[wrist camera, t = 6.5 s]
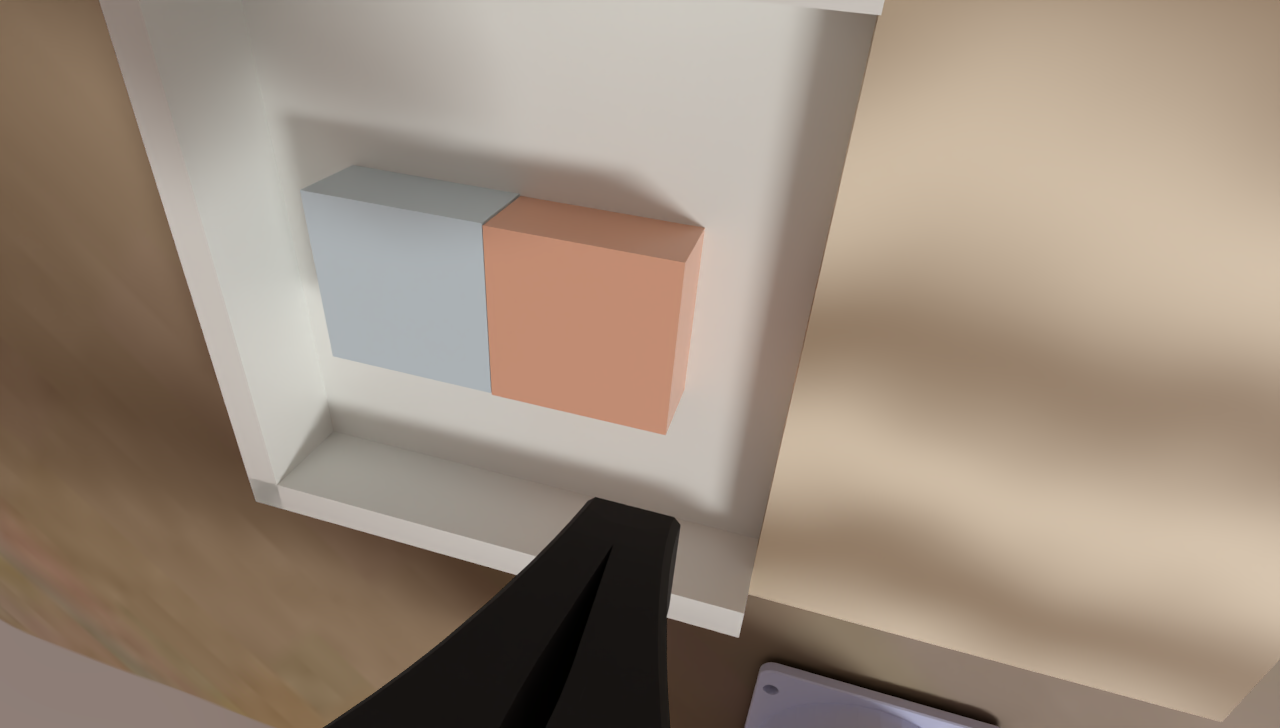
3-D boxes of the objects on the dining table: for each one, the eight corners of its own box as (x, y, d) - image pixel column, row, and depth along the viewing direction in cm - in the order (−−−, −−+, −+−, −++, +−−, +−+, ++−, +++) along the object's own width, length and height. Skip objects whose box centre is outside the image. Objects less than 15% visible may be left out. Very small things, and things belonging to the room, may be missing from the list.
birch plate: (1193, 654, 19) (1222, 722, 18) (757, 543, 22) (747, 594, 20) (1717, 2, 11) (1868, 18, 9) (895, -67, 13) (897, -65, 11)
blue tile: (523, 353, 19) (490, 393, 18) (376, 320, 20) (332, 356, 19) (519, 193, 17) (481, 223, 15) (352, 164, 18) (299, 189, 16)
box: (757, 543, 22) (738, 637, 19) (327, 433, 25) (255, 501, 22) (895, -67, 13) (899, -62, 10) (204, -126, 16) (57, -134, 13)
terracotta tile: (684, 389, 19) (665, 435, 17) (524, 354, 19) (492, 394, 18) (704, 227, 16) (685, 262, 14) (520, 195, 17) (482, 225, 15)
